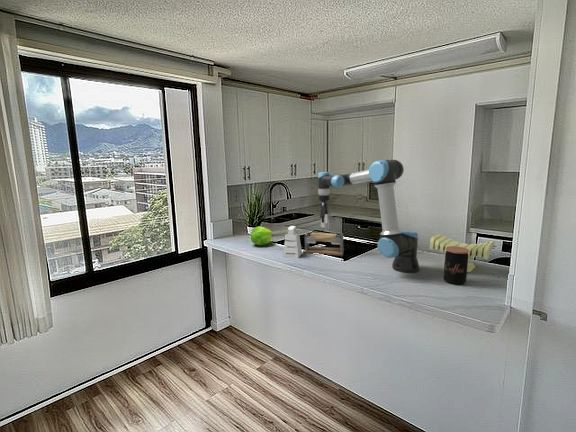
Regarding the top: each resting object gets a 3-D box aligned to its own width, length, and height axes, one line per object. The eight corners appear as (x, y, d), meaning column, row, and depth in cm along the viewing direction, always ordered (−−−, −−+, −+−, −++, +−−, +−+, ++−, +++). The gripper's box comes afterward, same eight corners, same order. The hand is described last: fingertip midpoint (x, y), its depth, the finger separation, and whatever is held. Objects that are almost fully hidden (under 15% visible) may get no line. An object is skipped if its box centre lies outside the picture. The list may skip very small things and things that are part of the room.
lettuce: (277, 243, 254) (278, 227, 247) (258, 252, 240) (259, 236, 234) (264, 235, 262) (265, 221, 256) (245, 244, 249) (245, 229, 243)
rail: (335, 242, 222) (335, 235, 221) (310, 240, 228) (310, 233, 227) (336, 240, 225) (337, 233, 224) (312, 239, 231) (312, 232, 230)
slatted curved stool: (428, 265, 195) (430, 237, 192) (437, 259, 207) (439, 232, 203) (485, 277, 175) (488, 246, 172) (491, 269, 186) (494, 240, 183)
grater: (283, 257, 218) (282, 228, 214) (287, 252, 228) (287, 225, 224) (298, 258, 215) (297, 229, 211) (302, 253, 225) (301, 225, 221)
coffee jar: (440, 281, 171) (442, 249, 168) (447, 276, 178) (450, 244, 175) (461, 287, 163) (464, 253, 160) (468, 281, 171) (471, 248, 167)
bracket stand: (342, 255, 218) (342, 236, 216) (303, 253, 225) (303, 235, 222) (343, 249, 231) (344, 232, 228) (306, 248, 237) (306, 230, 235)
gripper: (327, 196, 207) (327, 229, 211) (331, 192, 231) (331, 221, 235) (315, 196, 209) (316, 228, 213) (321, 192, 233) (321, 221, 237)
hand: (324, 225), depth 224 cm, fingers open, 13 cm apart
